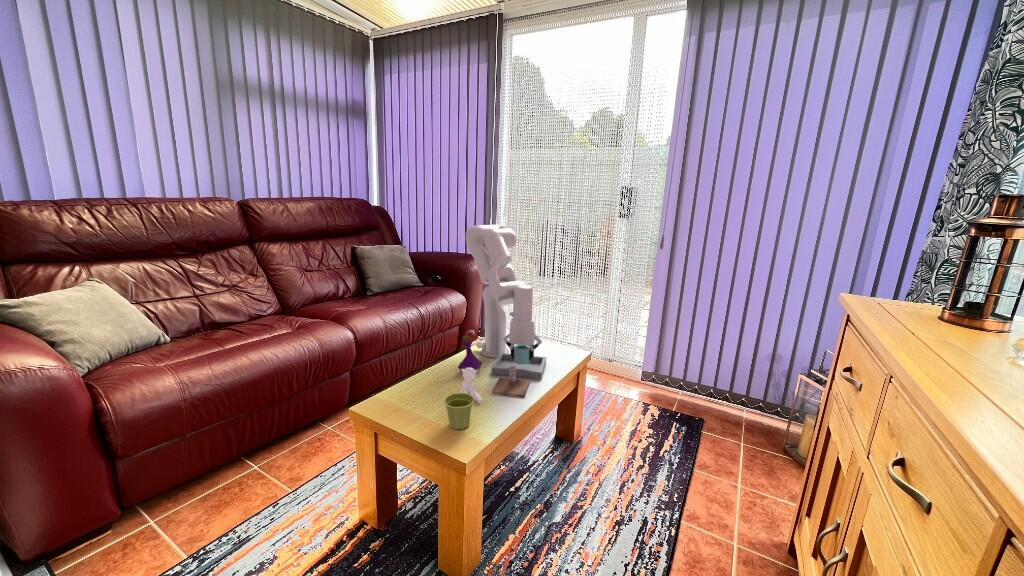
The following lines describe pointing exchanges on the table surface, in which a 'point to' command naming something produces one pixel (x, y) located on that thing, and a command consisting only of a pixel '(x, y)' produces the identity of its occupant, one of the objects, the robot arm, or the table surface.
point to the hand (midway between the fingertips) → (522, 358)
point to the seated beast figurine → (470, 384)
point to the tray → (519, 367)
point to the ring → (521, 354)
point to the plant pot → (459, 409)
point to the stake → (511, 385)
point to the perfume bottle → (469, 355)
